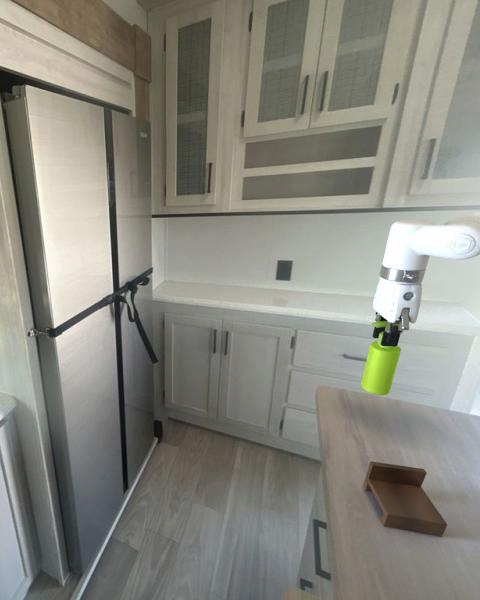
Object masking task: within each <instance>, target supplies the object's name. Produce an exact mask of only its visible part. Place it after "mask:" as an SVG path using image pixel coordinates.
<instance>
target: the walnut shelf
mask: <svg viewBox="0 0 480 600" xmlns="http://www.w3.org/2000/svg"><path fill="white" fill-rule="evenodd" d="M427 474H428V473H427V471H426V470H425V468H420V467H414V466H406V465H399V464H392V463H385V462H379V461H370V462H369V465H368V467H367V471H366V475H365V478H364V481H363V484H362V488H363V490H364V491H365V492H369V493H372V494H373V496H374V497H375V499H376V501H377V503H378V505H379V507H380V508H381V511H382V515H381V518H380V522H381V524H382V526H383V527H386V528H391V529H397V530H401V531H407V532H412V533H416V534H417V533H418V534H424V535H427V536H434V537H439V538H442V537H443V535H444V533H445V531H446V529H447V527H448V523H447V521H446V520H445V519H444V517H443V515H442V514H441V513H440V512H439V510H438V509H437V508H436V506H435V505H434V503H433V502H432V501H431V499H430V498H429V496H428V494H427V493H426V492H425V490H424V488H422V485H423V484H424V481H425V479H426V475H427Z"/></svg>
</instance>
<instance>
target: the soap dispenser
mask: <svg viewBox="0 0 480 600" xmlns="http://www.w3.org/2000/svg"><path fill="white" fill-rule="evenodd" d="M370 324H371V326H373V327H376V328H379V327H387V321H379V322H375V321H374V322H371V323H370ZM395 325H398V324H392V327H393V326H395ZM385 331H386V328H385ZM382 336H383V332H380V334H379V338H377V340H373V341H372V342H371V343H370V344H369V348H368V353H367V357H366V359H365V360H366V361H365V365H364V369H363V370H364V371H363V373H362V378H361V382H360V387H361V389H363V390H364V391H366V392H367V393H370V394H372V395H376V396H386V395H389V394H390V392H391V387H392V384H393V380H394V377H395V373H396V369H397V366H398V363H399V359H400V355H401V352H402V349H401V346H399V345H397V346H396V347H392V346H382V345H381V340H382Z"/></svg>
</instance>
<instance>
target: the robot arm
mask: <svg viewBox="0 0 480 600" xmlns="http://www.w3.org/2000/svg"><path fill="white" fill-rule="evenodd" d="M478 256H480V210H479V211H475V212H471V213H467V214H463V215H460V216H457V217H454V218H452V219H449V220H448V221H446V222H445V223H444V224H437V223H436V222H434V221H432V220H428V219H401V220H397V221H395V222H393V223H392V225H390V228H389V232H388V236H387V241H386V245H385V249H384V255H383V259H382V263H381V267H380V272H379V276H378V279H379V281H378V283H377V286H376V290H375V293H374V297H373V300H372V301H373V302H372V308H373V310H374V311H375V319H374V322H379V321H387V327H379V328H376V327H375V326H373V327H374V328H373V331H372V338H373V339H378V338H379V334H380V332H383V336H382V340H381V345H382V346H392V347H396V346H399V342H400V341H399V340H400V337H401V334H403V332H404V331H409V330H410V324H415V323H417V320H418V316H419V312H420V307H421V303H422V295H423V284H422V283H423V280H424V277H425V274H426V270H427V267H428V263H429V260H430V257H436V258H441V259H445V260H455V261H462V260H463V261H464V260H469V259H473V258H475V257H478ZM392 324H398V325H395V326H393V327H392ZM385 328H386V331H385Z"/></svg>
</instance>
